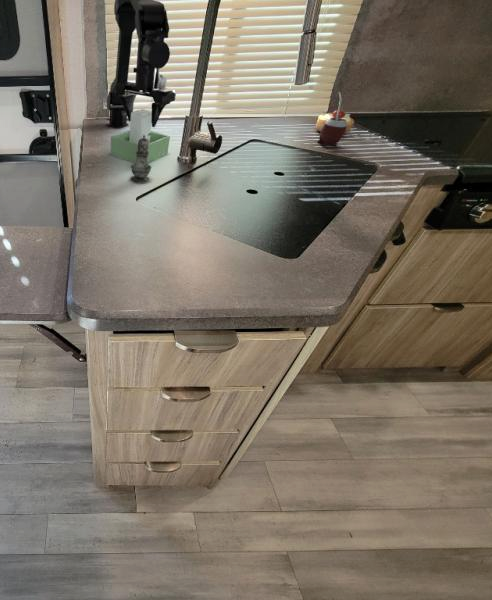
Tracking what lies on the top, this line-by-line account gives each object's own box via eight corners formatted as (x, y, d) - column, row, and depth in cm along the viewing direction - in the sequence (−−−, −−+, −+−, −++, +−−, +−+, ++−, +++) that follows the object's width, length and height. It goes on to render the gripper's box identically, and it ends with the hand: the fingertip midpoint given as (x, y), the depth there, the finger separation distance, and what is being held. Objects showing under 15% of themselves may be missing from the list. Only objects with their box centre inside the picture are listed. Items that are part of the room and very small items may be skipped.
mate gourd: (333, 149, 112) (356, 99, 102) (309, 143, 117) (330, 95, 106) (341, 144, 116) (365, 95, 106) (318, 139, 120) (339, 91, 110)
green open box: (110, 154, 109) (110, 136, 105) (135, 144, 116) (137, 127, 112) (142, 165, 102) (144, 146, 98) (167, 154, 109) (170, 136, 106)
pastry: (311, 133, 125) (322, 107, 119) (315, 126, 132) (325, 100, 126) (347, 139, 120) (360, 111, 114) (348, 130, 128) (361, 104, 122)
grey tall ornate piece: (126, 177, 95) (129, 133, 87) (143, 174, 97) (148, 130, 89) (135, 185, 91) (139, 139, 83) (154, 181, 93) (159, 136, 85)
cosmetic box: (138, 156, 106) (141, 114, 98) (127, 152, 109) (130, 112, 100) (149, 151, 110) (153, 110, 101) (139, 148, 112) (142, 108, 104)
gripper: (190, 63, 92) (181, 124, 102) (138, 57, 101) (134, 113, 112) (167, 68, 86) (160, 132, 97) (114, 61, 95) (113, 120, 106)
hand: (141, 124), depth 103 cm, fingers open, 9 cm apart
